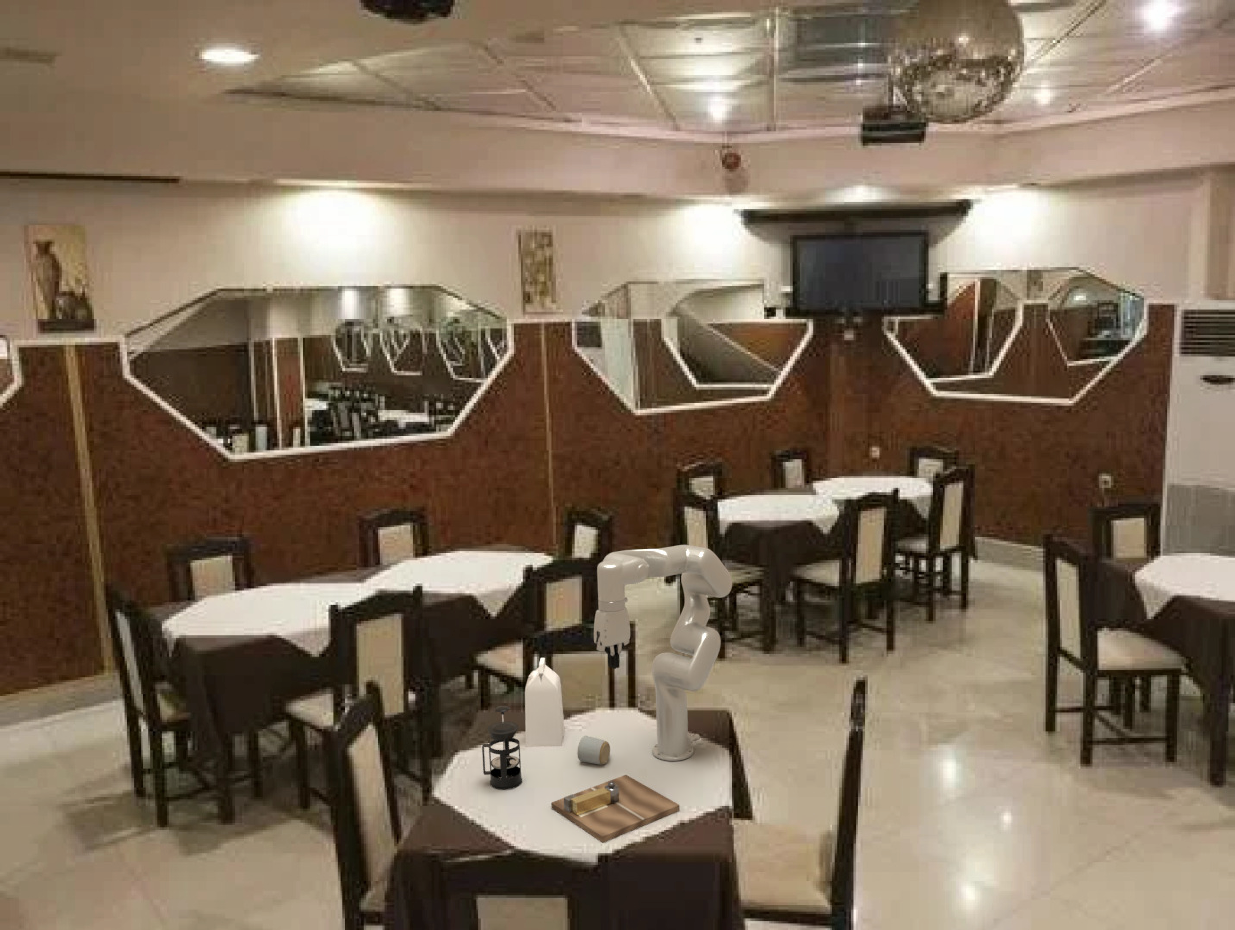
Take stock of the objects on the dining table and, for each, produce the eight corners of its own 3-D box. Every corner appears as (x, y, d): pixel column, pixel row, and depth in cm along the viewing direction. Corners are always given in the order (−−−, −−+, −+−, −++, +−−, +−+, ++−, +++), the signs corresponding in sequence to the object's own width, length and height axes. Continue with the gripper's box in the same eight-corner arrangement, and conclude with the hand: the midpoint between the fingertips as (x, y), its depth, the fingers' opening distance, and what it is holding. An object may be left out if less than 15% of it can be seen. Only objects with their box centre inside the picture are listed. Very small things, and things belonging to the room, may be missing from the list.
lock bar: (613, 794, 284) (613, 782, 284) (622, 800, 281) (621, 788, 281) (570, 810, 276) (569, 798, 276) (578, 815, 273) (577, 803, 273)
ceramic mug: (601, 769, 305) (601, 744, 304) (577, 765, 308) (576, 740, 307) (616, 755, 314) (615, 731, 313) (592, 751, 317) (591, 727, 316)
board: (626, 779, 297) (625, 763, 297) (679, 810, 278) (679, 792, 278) (551, 807, 282) (550, 790, 281) (602, 842, 263) (602, 823, 262)
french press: (525, 774, 303) (522, 700, 299) (523, 789, 294) (519, 713, 290) (486, 775, 303) (482, 702, 299) (482, 790, 294) (478, 714, 290)
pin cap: (612, 784, 282) (612, 780, 282) (616, 786, 281) (616, 782, 281) (606, 786, 281) (606, 782, 281) (610, 788, 280) (610, 784, 280)
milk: (562, 745, 322) (558, 667, 318) (525, 746, 322) (521, 668, 318) (564, 730, 334) (561, 654, 330) (529, 731, 334) (525, 655, 330)
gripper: (624, 596, 295) (626, 657, 298) (582, 607, 286) (584, 669, 289) (640, 602, 289) (642, 664, 292) (598, 613, 280) (600, 677, 283)
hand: (613, 666), depth 290 cm, fingers closed
